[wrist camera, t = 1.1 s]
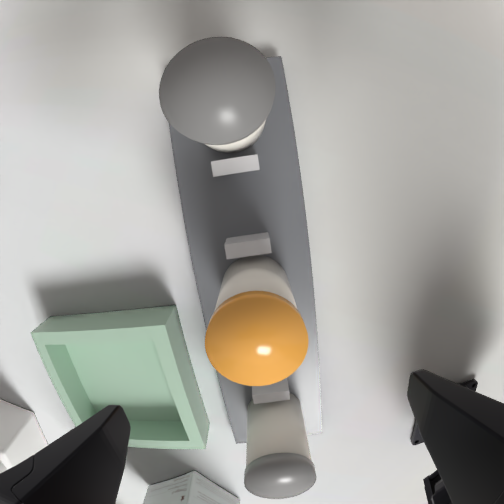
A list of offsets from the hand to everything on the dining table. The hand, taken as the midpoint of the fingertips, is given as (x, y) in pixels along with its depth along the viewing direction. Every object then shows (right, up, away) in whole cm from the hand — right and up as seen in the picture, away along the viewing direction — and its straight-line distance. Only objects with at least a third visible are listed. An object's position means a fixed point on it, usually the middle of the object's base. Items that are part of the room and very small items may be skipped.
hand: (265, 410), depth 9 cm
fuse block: (0, +3, +12) cm, 12 cm away
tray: (-10, -5, +14) cm, 18 cm away
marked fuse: (0, +3, +11) cm, 11 cm away
